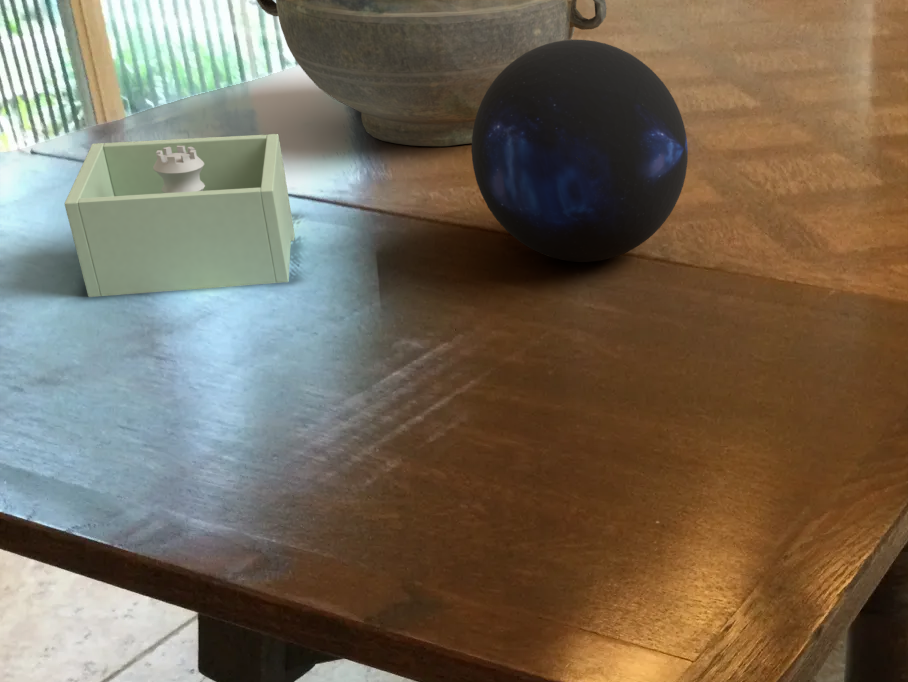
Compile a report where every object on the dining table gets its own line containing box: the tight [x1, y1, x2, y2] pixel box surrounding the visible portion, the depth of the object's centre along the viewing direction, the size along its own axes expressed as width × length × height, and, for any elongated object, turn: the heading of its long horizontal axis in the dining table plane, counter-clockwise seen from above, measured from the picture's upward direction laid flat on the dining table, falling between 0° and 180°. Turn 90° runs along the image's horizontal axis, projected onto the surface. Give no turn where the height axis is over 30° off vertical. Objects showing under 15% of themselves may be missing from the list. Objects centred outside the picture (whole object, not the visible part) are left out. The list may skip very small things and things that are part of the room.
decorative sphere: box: [471, 39, 689, 263], centre depth 95 cm, size 15×15×15 cm
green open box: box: [64, 133, 296, 298], centre depth 93 cm, size 13×13×8 cm
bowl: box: [256, 0, 608, 147], centre depth 121 cm, size 32×26×15 cm
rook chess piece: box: [153, 146, 205, 193], centre depth 92 cm, size 4×4×8 cm
